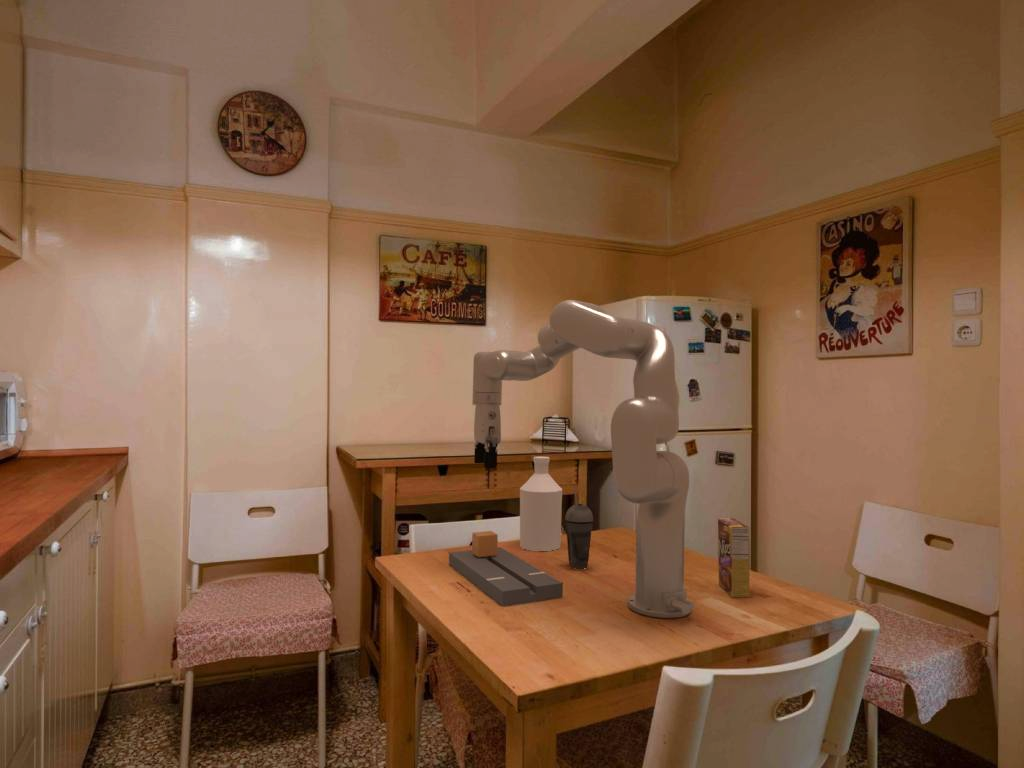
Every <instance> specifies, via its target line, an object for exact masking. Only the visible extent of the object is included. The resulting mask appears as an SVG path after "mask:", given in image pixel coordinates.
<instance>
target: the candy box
mask: <svg viewBox="0 0 1024 768" xmlns="http://www.w3.org/2000/svg"><path fill="white" fill-rule="evenodd" d="M717 541H718V542H717V544H718V545H717V546H718V547H717V551H718V552H717V555H718V558H717V559H718V561H717V562H718V569H717V570H718V586H720V588H722V589H723V590H724V591H725V592H726V593H727V594H728V595H729V596H730V597H731V598H739V599H741V598H742V599H743V598H744V599H745V598H747V599H748V598H750V595H751V594H750V592H751V591H750V590H751V589H750V584H751V583H750V577H751V576H750V569H751V568H750V527H749V526H748V525H746V524H744V523H742V522H740V521H739V520H738V519H736V518H733V517H730V518H729V517H722V518H721V517H720V518H719V517H718V518H717Z"/></svg>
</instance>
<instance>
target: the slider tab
mask: <svg viewBox="0 0 1024 768" xmlns="http://www.w3.org/2000/svg"><path fill="white" fill-rule="evenodd" d="M471 534H472V535H471V550H472V553H473V554H474V555H476V556H477V557H484V558H485V559H487V560H488V561H489V556H494V555H497V548H498V534H497V533H495V532H493V531H492V530H488V531H477V532H472V533H471Z"/></svg>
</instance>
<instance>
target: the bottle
mask: <svg viewBox="0 0 1024 768" xmlns="http://www.w3.org/2000/svg"><path fill="white" fill-rule="evenodd" d="M550 459H551V458H550V457H549V456H533V464H534V465H533V467H534V468H533V469H534V473H533V474H532V475H531V476H530V478H529V479H528V480H527V481H526V482H525V483H524V484H523V485H522V486H521V487H520V488H519V547H520V548H521V547H522V548H523V549H522V548H521V549H522V550H525V549H526V550H525V551H528V550H530V551H529V552H535V551H549V552H552V551H551V550H555V551H557V550H556V549H558V548H560V549H561V545H562V544H561V542H562V541H561V539H562V508H563V507H562V505H563V488H562V487H561V486H559V484H558V483H557V482H556V481H555V480H554V478H553V477H552V476H551V475H550V474H549V463H550ZM558 550H559V549H558Z"/></svg>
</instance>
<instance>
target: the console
mask: <svg viewBox="0 0 1024 768" xmlns="http://www.w3.org/2000/svg"><path fill="white" fill-rule="evenodd" d="M448 565H449V566H450V567H451V568H452V569H454V570H456V572H458V573H459V574H461V576H463V577H465V578H466V579H467V580H468V581H469V582H470V583H472V584H473V585H475V586H476V587H477V588H478V589H480V590H481V591H482V592H483V593H484V594H486V595H487V596H488V597H489V598H491V599H492V600H493V601H495V603H497V604H498V605H499V606H501V607H507V606H506V605H508V606H514V604H515V605H521V604H520V603H522V604H527V602H528V603H535V602H540V601H541V600H542V601H548V600H554V598H555V599H561V598H560V597H562V598H563V594H564V593H563V592H564V589H563V587H564V586H563V585H564V583H563V582H562V581H560V580H558V579H556V578H554V577H553V576H551V575H550V574H547V573H546V572H545V571H542V570H540V568H537V567H535V566H534V565H532V564H531V563H529V562H527V561H525V560H523V559H522V558H520V557H518V556H516V554H513V553H512V552H510V551H508V550H506V549H504V548H502V547H501V546H500V547H498V546H497V555H494V556H489V561H488V560H487V559H485V558H484V557H477V556H476V555H474V554H473V553H472V549H471V550H462V551H453V552H452V551H451V552H449V553H448ZM547 599H548V600H547ZM534 601H535V602H534ZM512 604H513V605H512Z"/></svg>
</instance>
